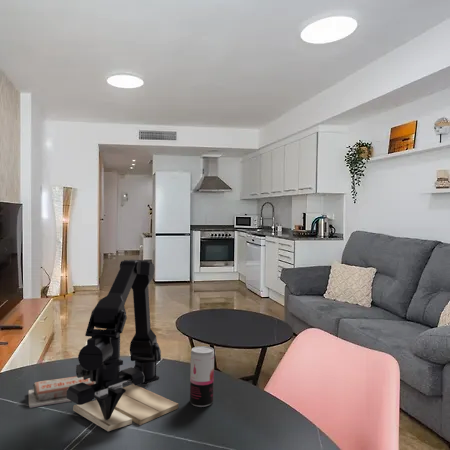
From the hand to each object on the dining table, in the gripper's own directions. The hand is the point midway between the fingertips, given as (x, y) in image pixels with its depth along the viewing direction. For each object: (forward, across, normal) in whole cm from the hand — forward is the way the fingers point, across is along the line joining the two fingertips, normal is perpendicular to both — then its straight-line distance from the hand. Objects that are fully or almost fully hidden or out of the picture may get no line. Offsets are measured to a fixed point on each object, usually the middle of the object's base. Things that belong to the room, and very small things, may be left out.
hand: (106, 419), depth 104 cm
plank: (+2, -2, -5) cm, 6 cm away
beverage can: (+2, -26, +7) cm, 27 cm away
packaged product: (+3, -2, -25) cm, 25 cm away
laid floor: (+2, -13, -5) cm, 14 cm away
